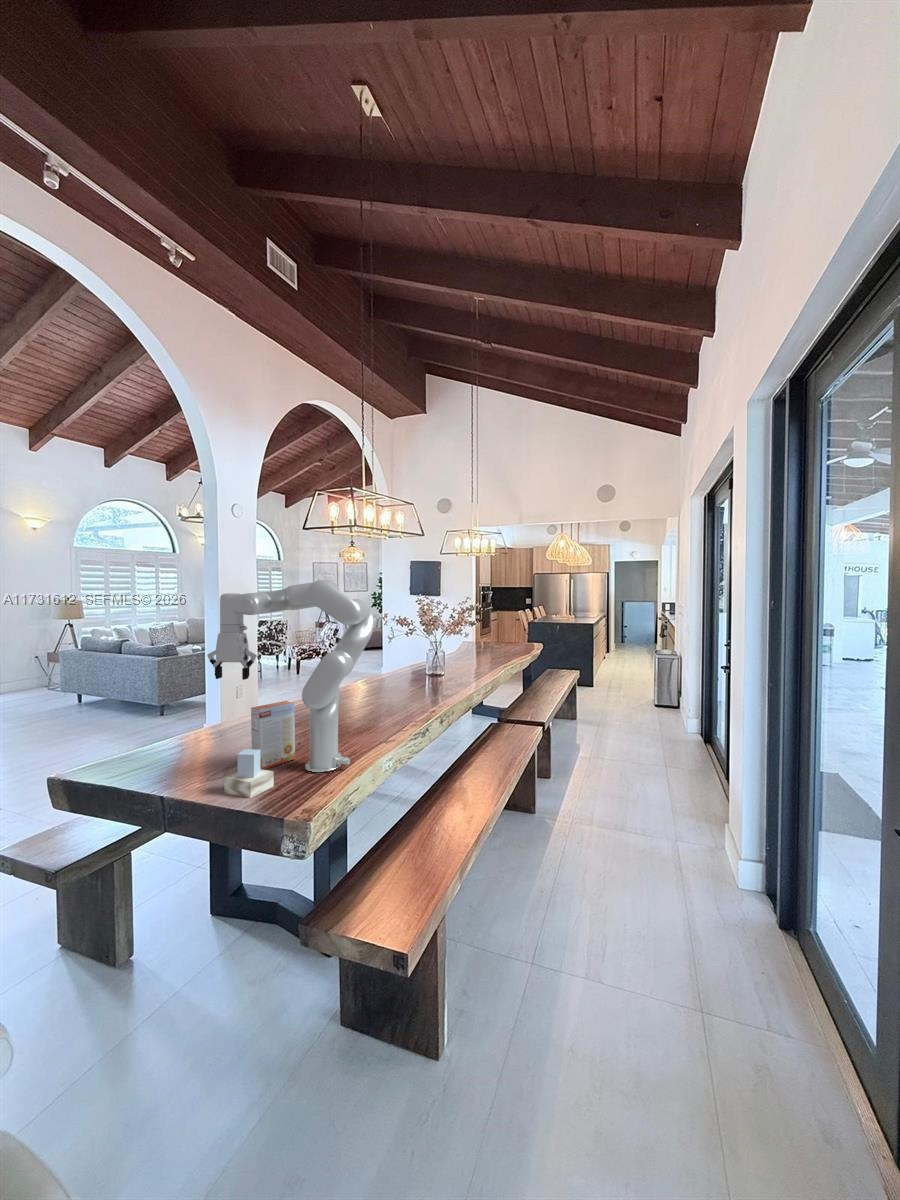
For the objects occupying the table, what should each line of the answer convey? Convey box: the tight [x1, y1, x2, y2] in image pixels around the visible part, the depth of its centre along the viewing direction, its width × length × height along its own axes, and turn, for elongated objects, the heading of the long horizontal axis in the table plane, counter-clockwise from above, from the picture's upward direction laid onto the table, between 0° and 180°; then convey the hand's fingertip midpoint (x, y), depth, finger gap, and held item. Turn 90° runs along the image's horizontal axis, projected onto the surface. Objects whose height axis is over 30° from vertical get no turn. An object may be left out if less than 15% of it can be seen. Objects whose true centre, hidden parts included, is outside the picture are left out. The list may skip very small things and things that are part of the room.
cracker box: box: [250, 700, 296, 770], centre depth 188 cm, size 14×6×21 cm, turn 141°
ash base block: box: [223, 769, 275, 799], centre depth 164 cm, size 10×10×5 cm
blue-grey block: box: [236, 748, 260, 778], centre depth 164 cm, size 5×5×7 cm
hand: (232, 678), depth 185 cm, fingers open, 9 cm apart
